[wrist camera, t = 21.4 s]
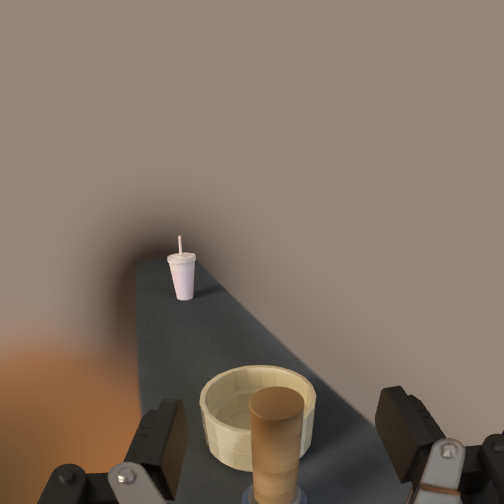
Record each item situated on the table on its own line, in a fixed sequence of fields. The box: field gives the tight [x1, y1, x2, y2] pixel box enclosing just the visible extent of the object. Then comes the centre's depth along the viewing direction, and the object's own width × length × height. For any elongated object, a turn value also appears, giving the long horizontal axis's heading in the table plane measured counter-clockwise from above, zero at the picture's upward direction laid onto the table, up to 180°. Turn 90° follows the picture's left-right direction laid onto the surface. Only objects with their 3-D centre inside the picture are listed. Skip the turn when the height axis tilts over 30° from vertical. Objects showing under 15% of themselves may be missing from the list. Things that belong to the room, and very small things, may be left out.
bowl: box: [200, 365, 316, 472], centre depth 28 cm, size 11×11×6 cm
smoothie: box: [167, 236, 196, 300], centre depth 69 cm, size 6×6×14 cm
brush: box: [242, 387, 307, 504], centre depth 16 cm, size 5×5×14 cm
